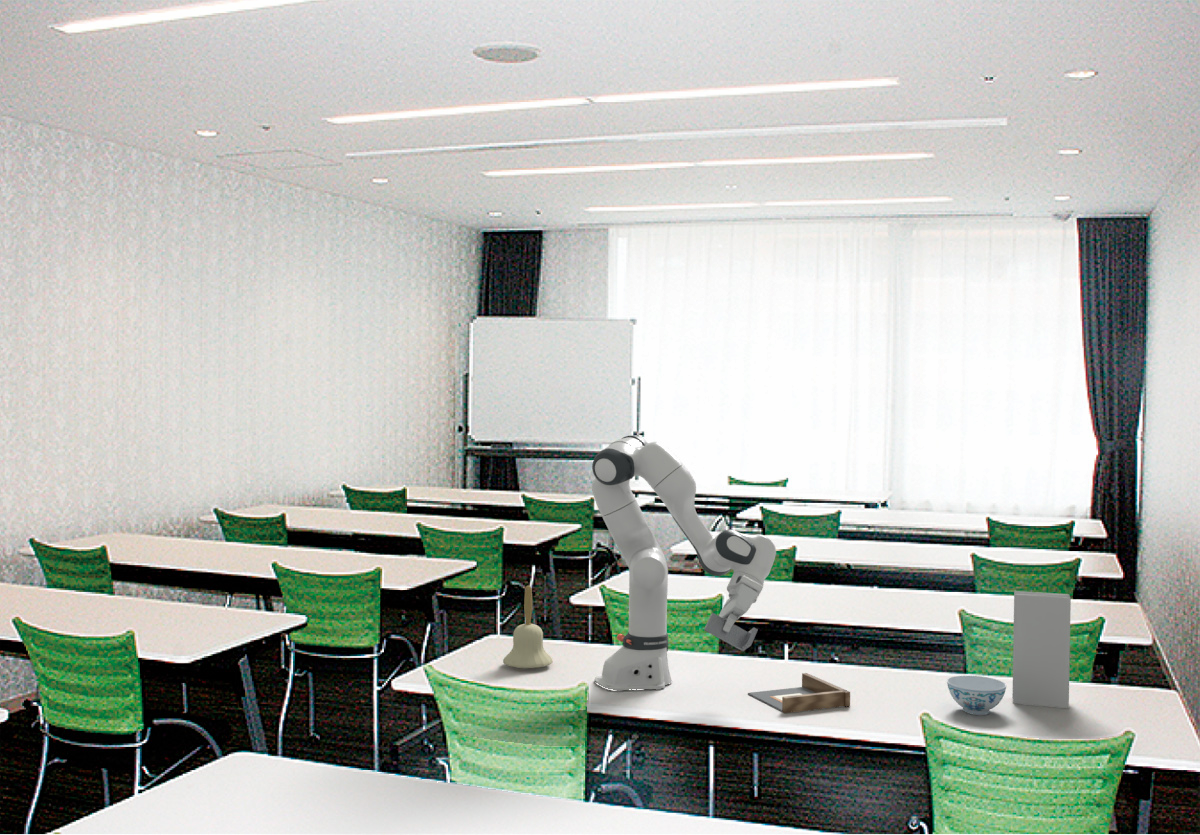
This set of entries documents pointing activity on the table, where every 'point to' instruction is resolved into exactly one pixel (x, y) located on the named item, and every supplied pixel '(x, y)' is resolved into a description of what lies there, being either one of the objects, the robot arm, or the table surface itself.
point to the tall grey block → (1041, 649)
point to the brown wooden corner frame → (816, 696)
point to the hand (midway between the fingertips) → (723, 632)
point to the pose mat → (778, 695)
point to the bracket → (730, 633)
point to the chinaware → (976, 693)
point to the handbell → (528, 642)
